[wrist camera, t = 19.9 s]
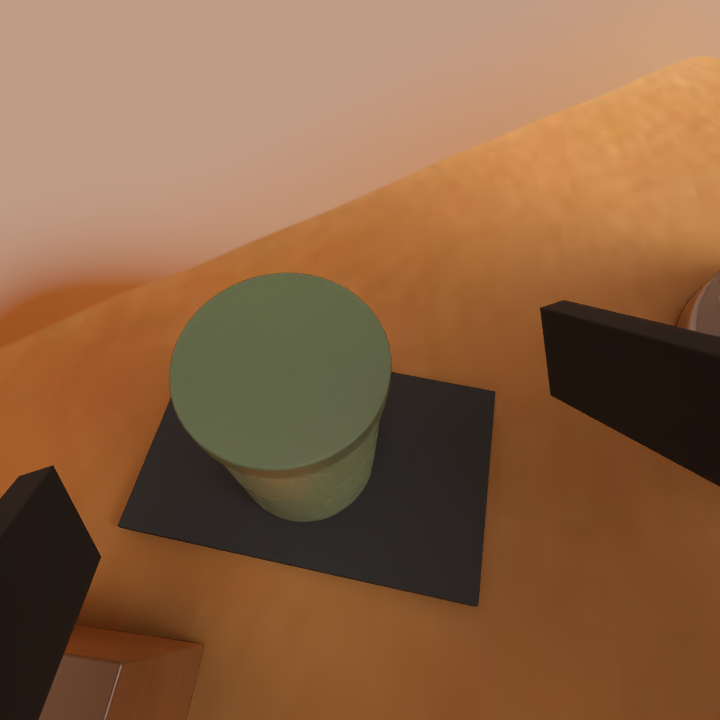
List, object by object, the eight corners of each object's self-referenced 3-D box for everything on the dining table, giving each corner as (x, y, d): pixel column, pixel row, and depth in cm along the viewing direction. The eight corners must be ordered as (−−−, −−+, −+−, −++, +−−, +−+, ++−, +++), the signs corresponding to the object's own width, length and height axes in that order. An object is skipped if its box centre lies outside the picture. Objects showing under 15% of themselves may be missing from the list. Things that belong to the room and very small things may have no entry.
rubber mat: (492, 395, 25) (495, 391, 25) (475, 606, 21) (478, 606, 20) (199, 339, 26) (196, 335, 26) (121, 527, 22) (117, 526, 21)
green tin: (388, 401, 24) (407, 290, 16) (362, 540, 21) (369, 492, 13) (259, 377, 25) (212, 257, 16) (216, 508, 22) (131, 444, 13)
